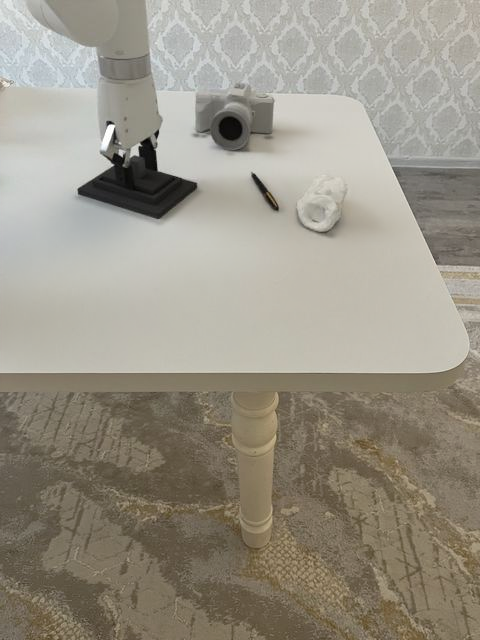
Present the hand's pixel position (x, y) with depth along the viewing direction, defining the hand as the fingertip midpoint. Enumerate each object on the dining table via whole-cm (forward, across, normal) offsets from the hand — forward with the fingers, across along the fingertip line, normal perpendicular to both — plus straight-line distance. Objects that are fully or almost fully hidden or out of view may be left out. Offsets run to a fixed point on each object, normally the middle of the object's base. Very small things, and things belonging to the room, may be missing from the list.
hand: (137, 177), depth 99 cm
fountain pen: (+3, -10, +19) cm, 21 cm away
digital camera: (+3, -28, +2) cm, 28 cm away
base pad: (+2, 0, 0) cm, 2 cm away
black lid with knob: (+1, 0, 0) cm, 1 cm away
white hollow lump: (+3, -8, +30) cm, 31 cm away
